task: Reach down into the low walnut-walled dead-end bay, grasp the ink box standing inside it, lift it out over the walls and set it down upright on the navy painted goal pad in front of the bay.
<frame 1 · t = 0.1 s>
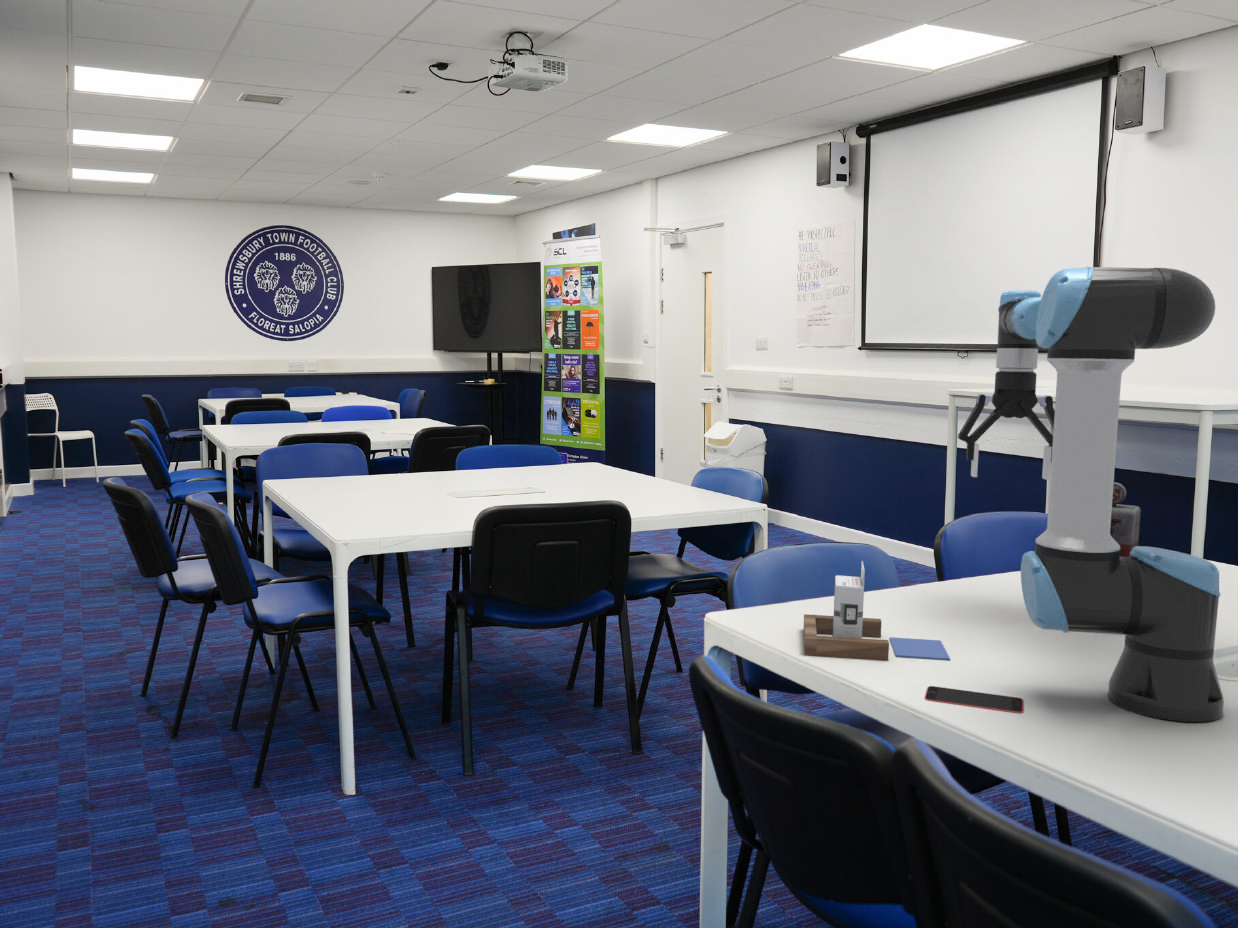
hand: (1009, 477, 194), 28 cm above the table, fingers open, 13 cm apart
ink box: (846, 645, 175), on the table
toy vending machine: (1103, 625, 191), on the table
bay: (843, 644, 176), on the table
goal pad: (918, 649, 173), on the table
smartphone: (973, 703, 148), on the table
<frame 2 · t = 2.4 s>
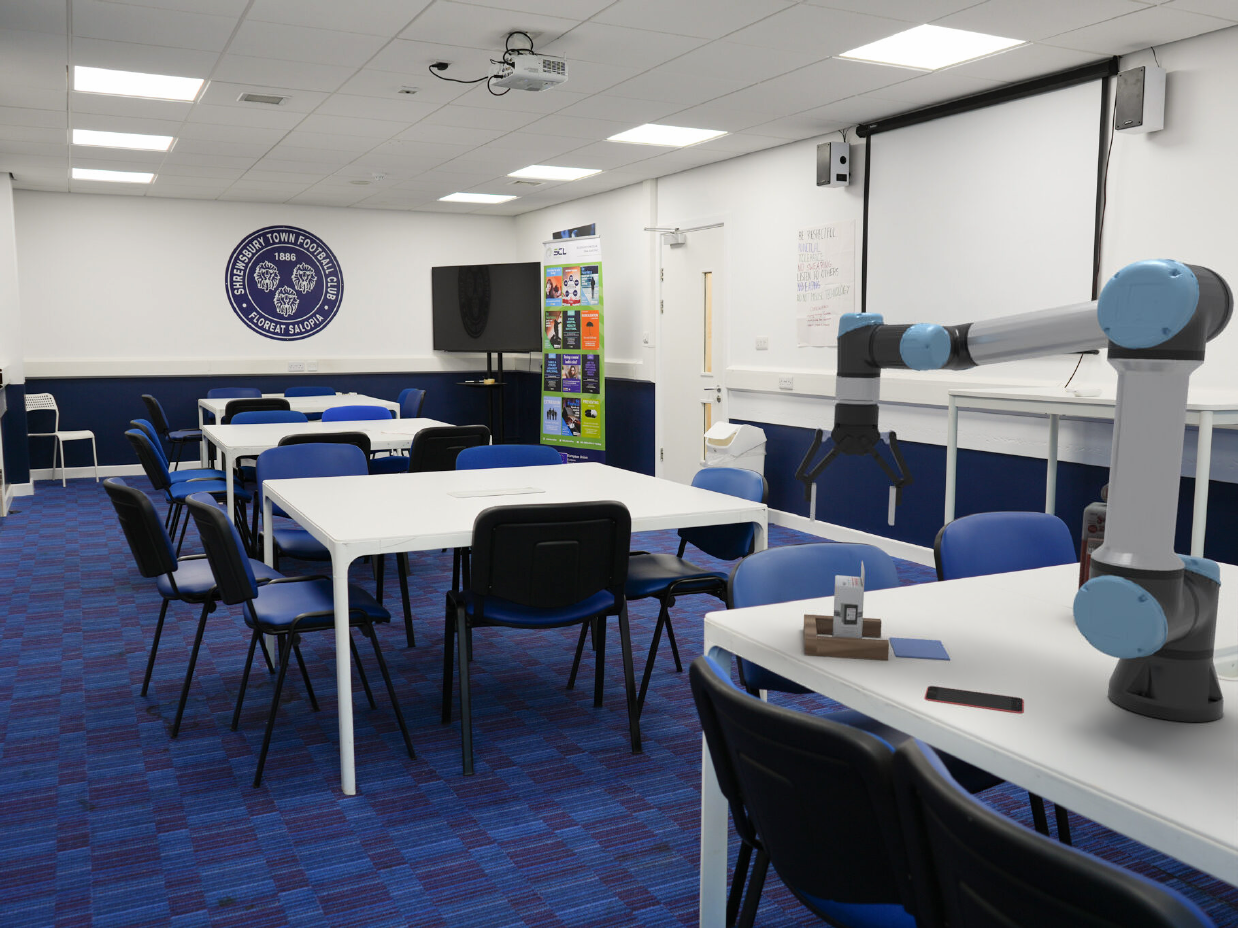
hand: (851, 522, 173), 22 cm above the table, fingers open, 13 cm apart
nothing on the table moved.
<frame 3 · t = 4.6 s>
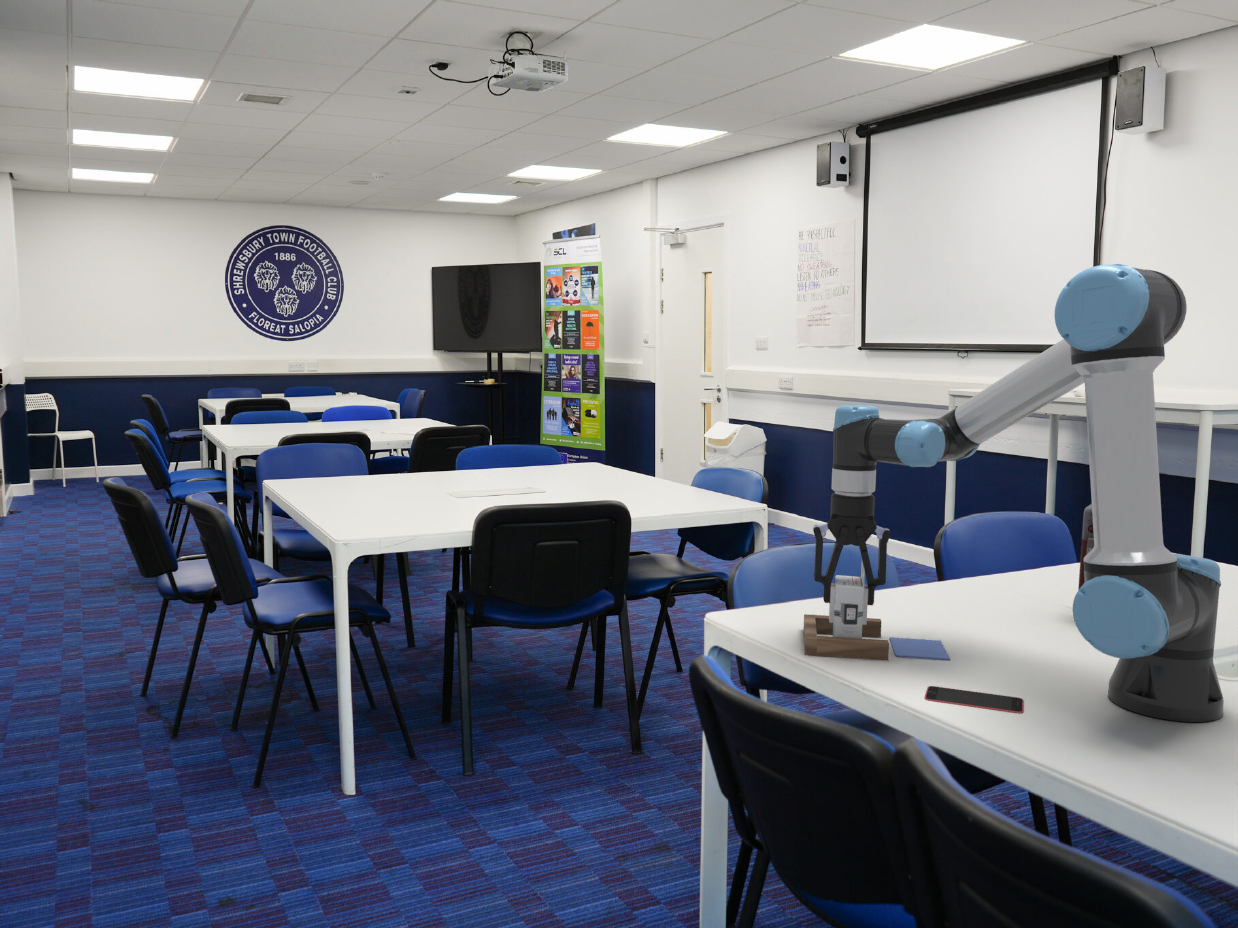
hand: (847, 621, 175), 4 cm above the table, fingers closed on ink box, 5 cm apart
ink box: (846, 645, 175), on the table, touching gripper
everything else where it was.
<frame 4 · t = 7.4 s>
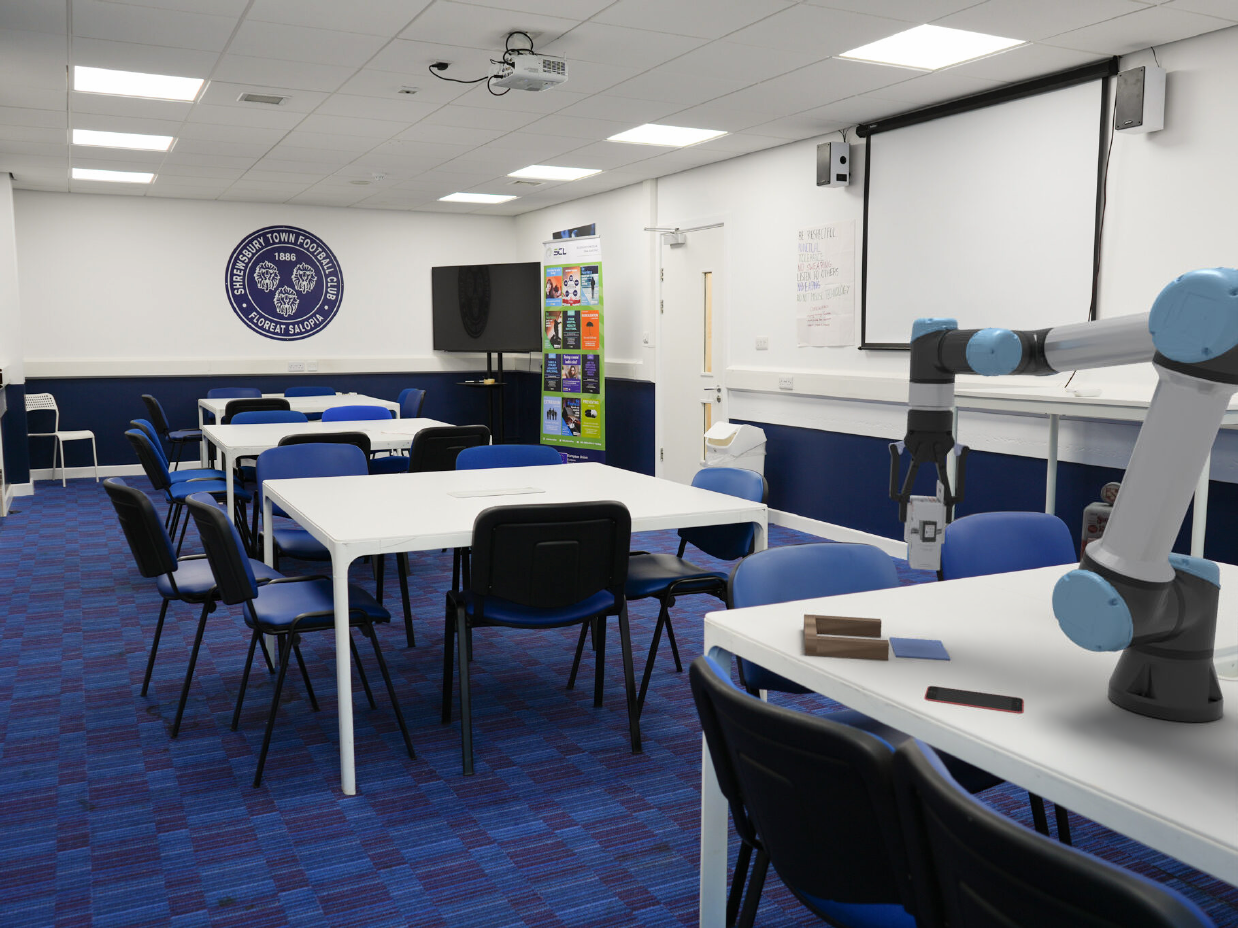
hand: (924, 541, 171), 19 cm above the table, fingers closed on ink box, 5 cm apart
ink box: (922, 566, 172), point 15 cm above the table, touching gripper
everything else where it was.
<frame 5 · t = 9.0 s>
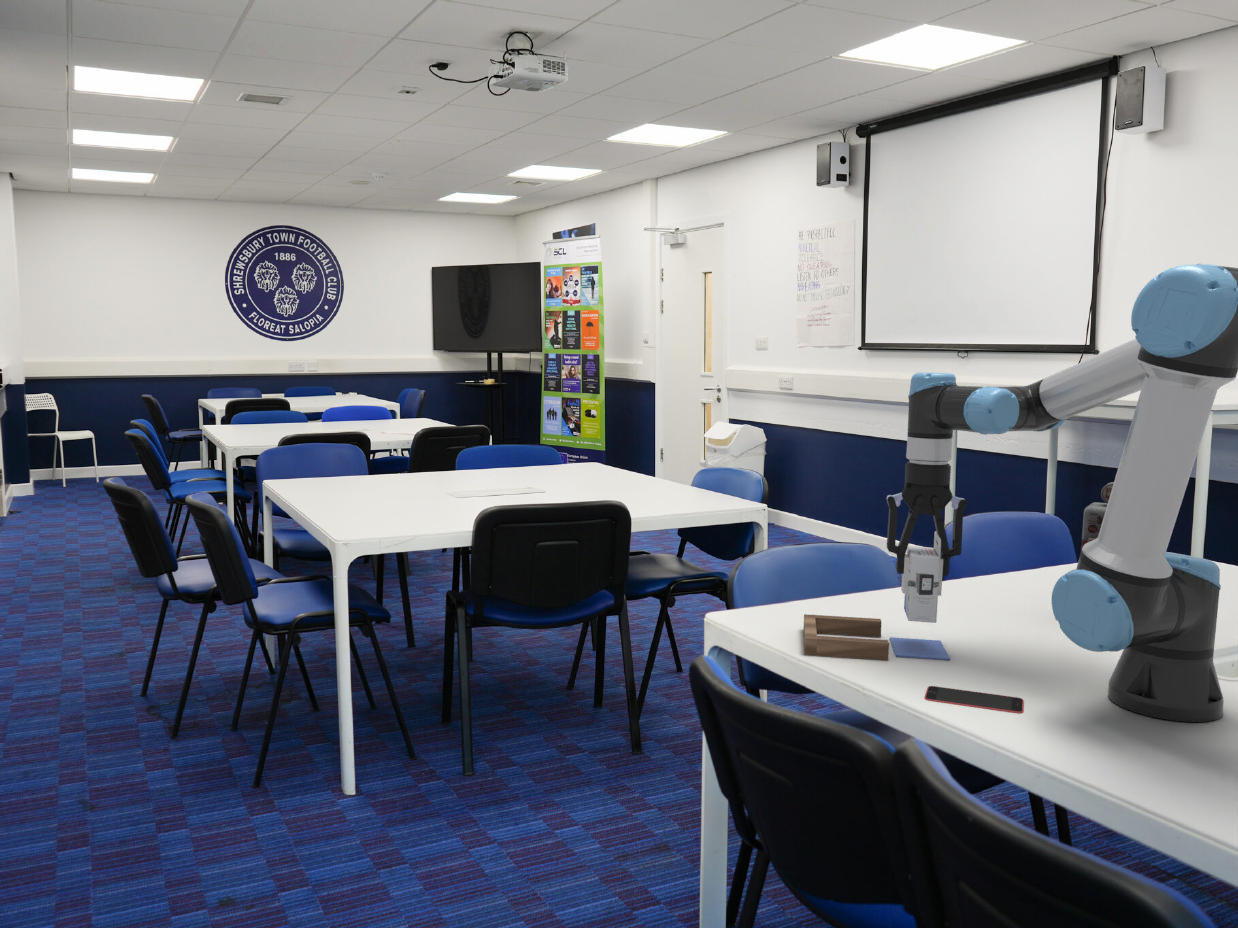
hand: (921, 592, 172), 10 cm above the table, fingers closed on ink box, 5 cm apart
ink box: (919, 617, 173), point 6 cm above the table, touching gripper
everything else where it was.
when the fingers open (6 cm above the table, at t = 10.2 s): ink box drops 1 cm, resting on goal pad.
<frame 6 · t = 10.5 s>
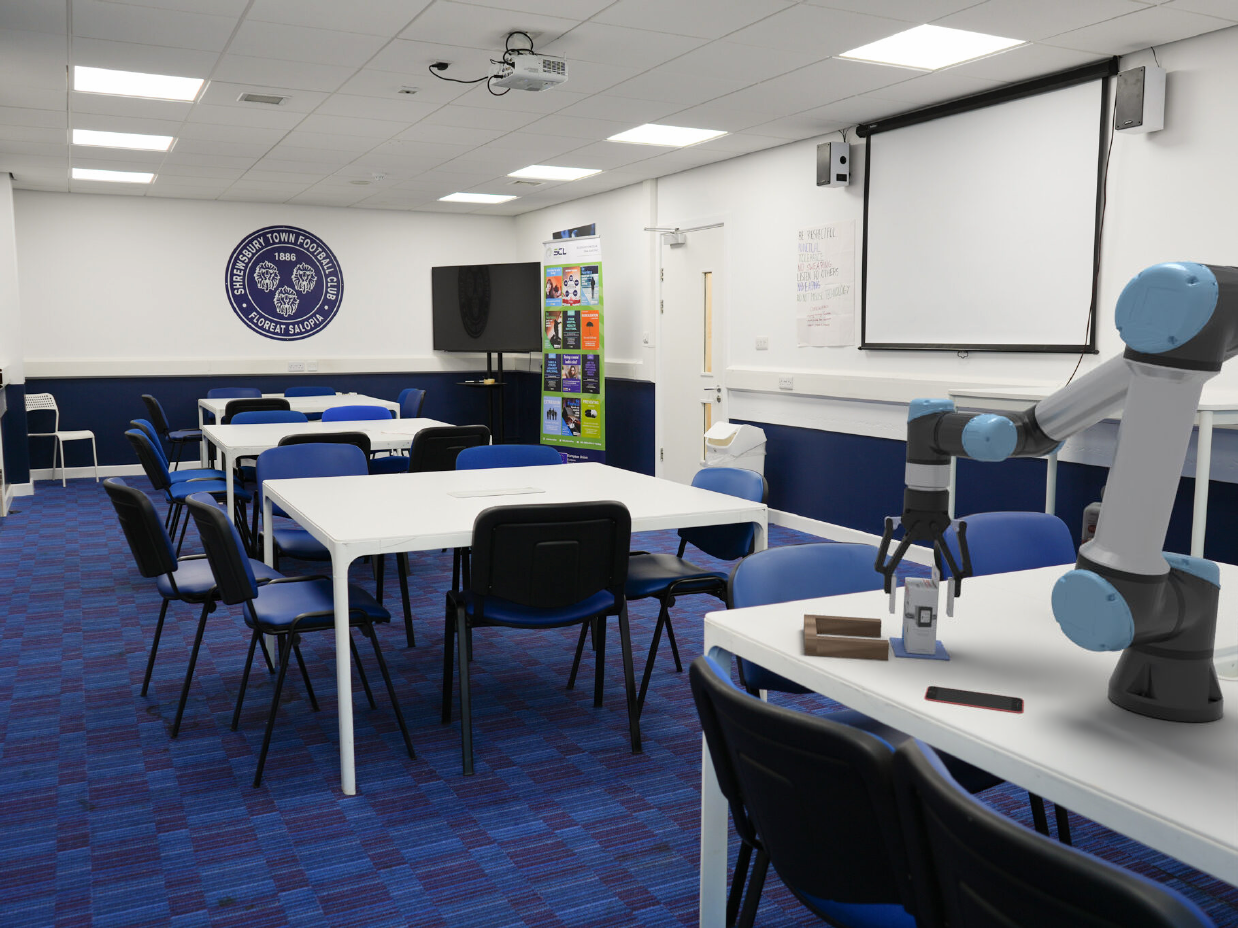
hand: (920, 613, 173), 7 cm above the table, fingers open, 9 cm apart
ink box: (917, 648, 173), resting on goal pad
everything else where it was.
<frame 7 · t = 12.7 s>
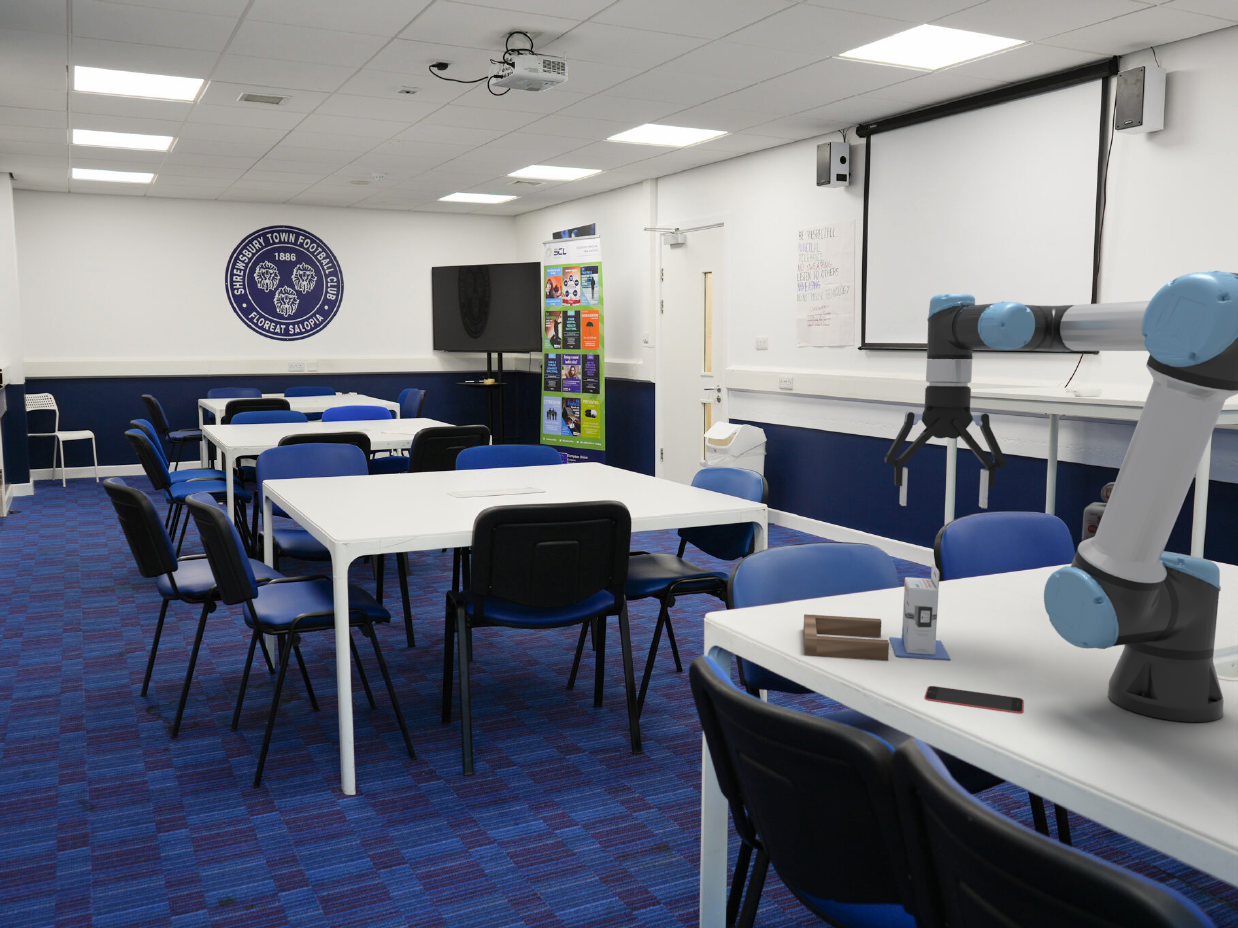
hand: (942, 506, 172), 26 cm above the table, fingers open, 13 cm apart
nothing on the table moved.
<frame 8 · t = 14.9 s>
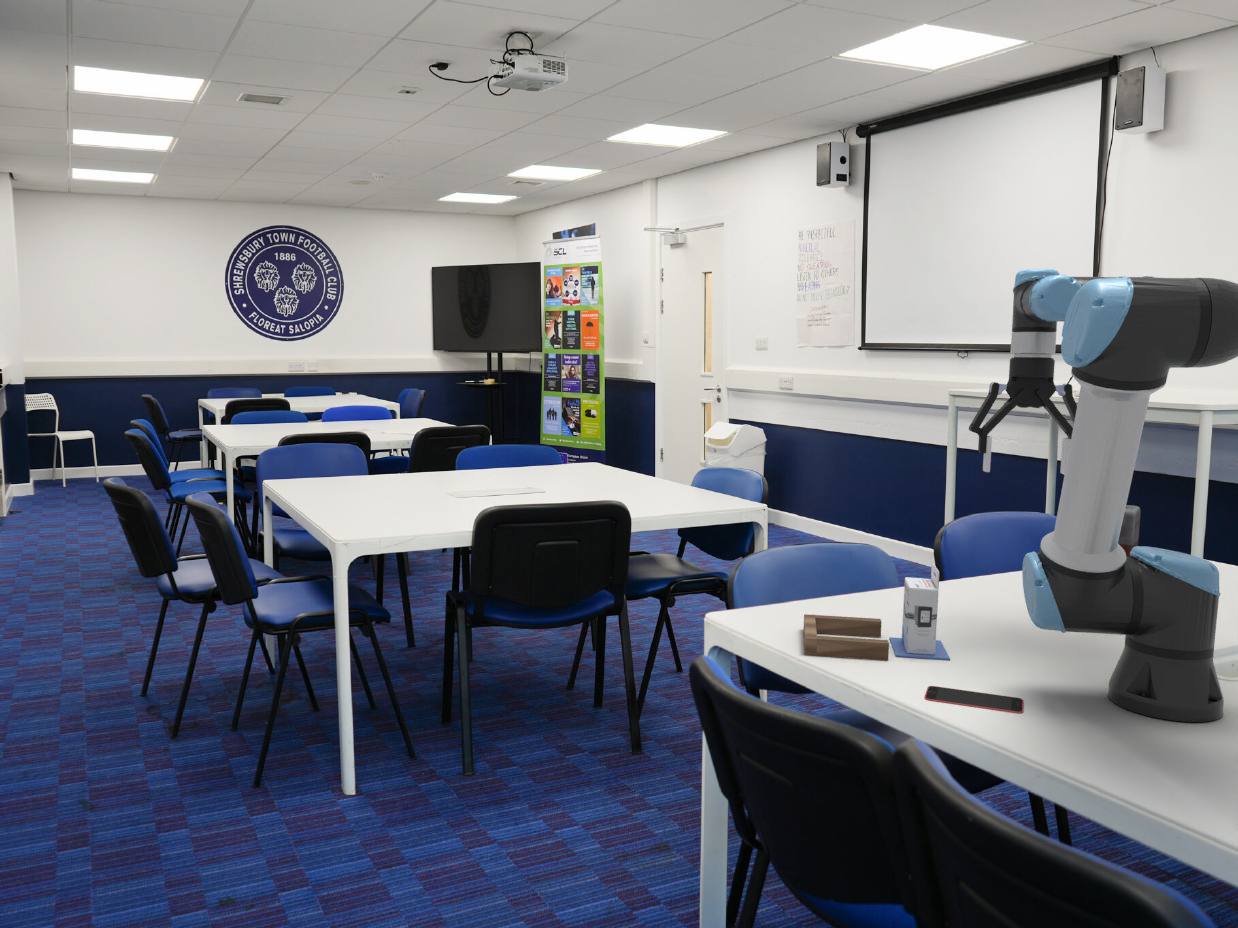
hand: (1025, 472, 179), 31 cm above the table, fingers open, 13 cm apart
nothing on the table moved.
at the end: ink box inside the target area (0.1 cm from its centre), resting on goal pad; ink box tilted 0°; the gripper is holding nothing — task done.
